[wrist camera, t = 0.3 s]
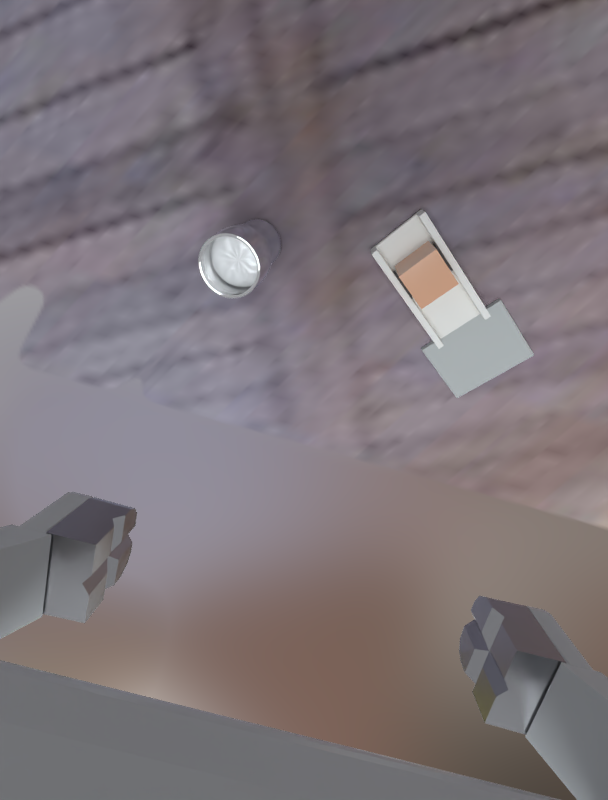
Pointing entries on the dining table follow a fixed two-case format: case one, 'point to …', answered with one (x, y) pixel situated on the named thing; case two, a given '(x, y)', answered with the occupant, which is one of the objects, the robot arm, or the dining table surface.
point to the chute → (448, 307)
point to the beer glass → (239, 257)
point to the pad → (479, 350)
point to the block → (425, 274)
